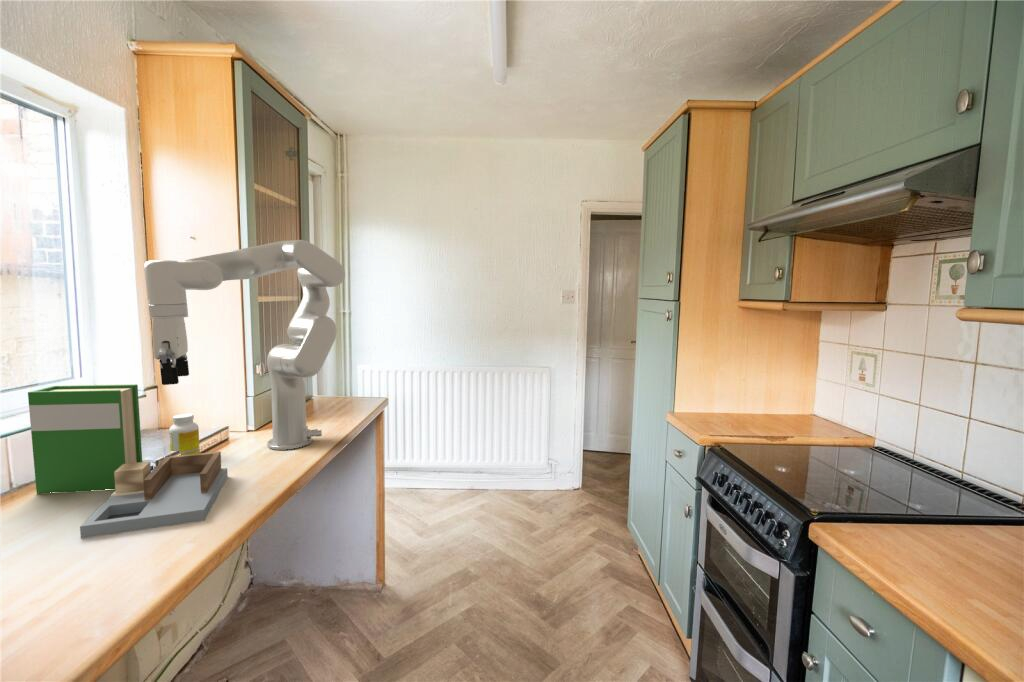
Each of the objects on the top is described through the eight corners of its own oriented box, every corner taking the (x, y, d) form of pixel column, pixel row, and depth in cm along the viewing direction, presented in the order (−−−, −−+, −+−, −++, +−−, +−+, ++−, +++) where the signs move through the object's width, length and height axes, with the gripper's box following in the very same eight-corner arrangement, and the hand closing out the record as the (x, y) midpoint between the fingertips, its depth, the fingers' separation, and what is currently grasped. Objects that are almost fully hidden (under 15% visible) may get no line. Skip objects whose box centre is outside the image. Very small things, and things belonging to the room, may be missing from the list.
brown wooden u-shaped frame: (221, 468, 115) (220, 451, 114) (207, 492, 101) (206, 473, 101) (167, 474, 110) (166, 456, 110) (144, 500, 97) (143, 480, 96)
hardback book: (143, 477, 114) (137, 384, 112) (124, 489, 107) (117, 390, 105) (61, 481, 111) (53, 385, 108) (36, 494, 104) (27, 392, 101)
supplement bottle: (205, 456, 129) (203, 413, 128) (187, 465, 123) (184, 419, 121) (184, 455, 130) (182, 412, 128) (164, 463, 123) (162, 418, 122)
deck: (227, 476, 116) (227, 466, 115) (204, 520, 93) (204, 507, 93) (130, 488, 108) (129, 476, 108) (80, 538, 86) (79, 524, 86)
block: (151, 481, 105) (150, 461, 105) (143, 490, 100) (142, 468, 100) (124, 484, 103) (123, 463, 103) (115, 493, 98) (114, 471, 98)
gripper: (161, 309, 116) (168, 374, 118) (136, 314, 100) (145, 389, 103) (195, 308, 119) (202, 372, 121) (177, 313, 103) (185, 386, 106)
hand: (176, 379), depth 112 cm, fingers open, 9 cm apart
